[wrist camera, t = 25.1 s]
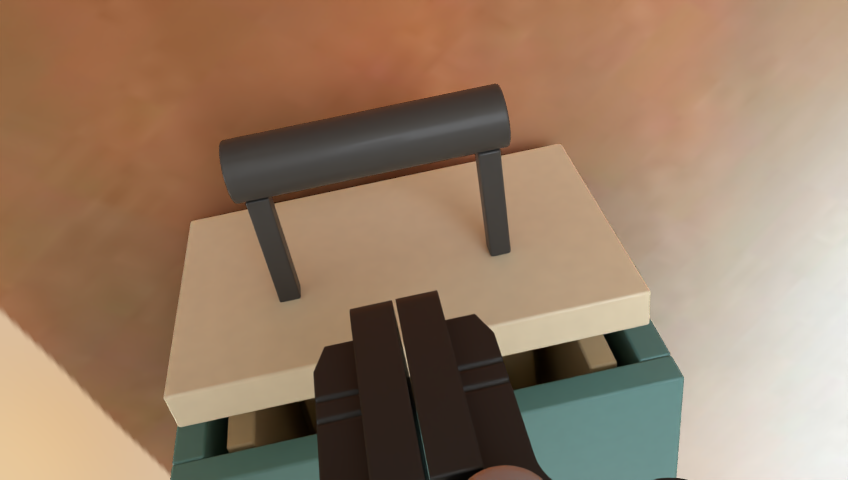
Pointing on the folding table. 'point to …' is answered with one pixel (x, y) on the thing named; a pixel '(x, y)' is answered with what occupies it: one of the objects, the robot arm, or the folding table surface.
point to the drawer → (389, 257)
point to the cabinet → (543, 417)
